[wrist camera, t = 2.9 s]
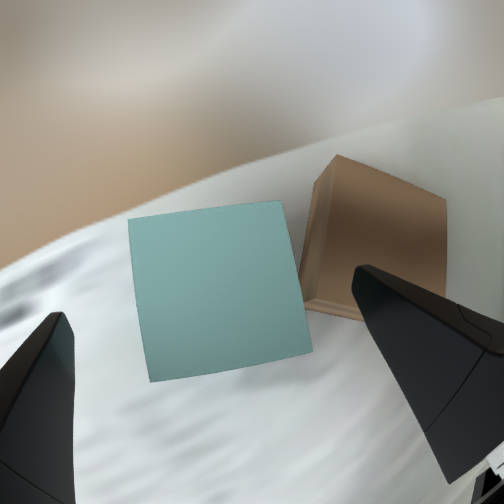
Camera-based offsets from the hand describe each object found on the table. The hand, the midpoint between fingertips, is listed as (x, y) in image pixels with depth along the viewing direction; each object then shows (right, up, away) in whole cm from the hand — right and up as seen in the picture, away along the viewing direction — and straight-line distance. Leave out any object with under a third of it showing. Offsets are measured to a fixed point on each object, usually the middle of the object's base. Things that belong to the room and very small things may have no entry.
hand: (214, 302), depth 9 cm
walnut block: (+8, +1, +11) cm, 14 cm away
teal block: (-1, -2, +8) cm, 8 cm away
